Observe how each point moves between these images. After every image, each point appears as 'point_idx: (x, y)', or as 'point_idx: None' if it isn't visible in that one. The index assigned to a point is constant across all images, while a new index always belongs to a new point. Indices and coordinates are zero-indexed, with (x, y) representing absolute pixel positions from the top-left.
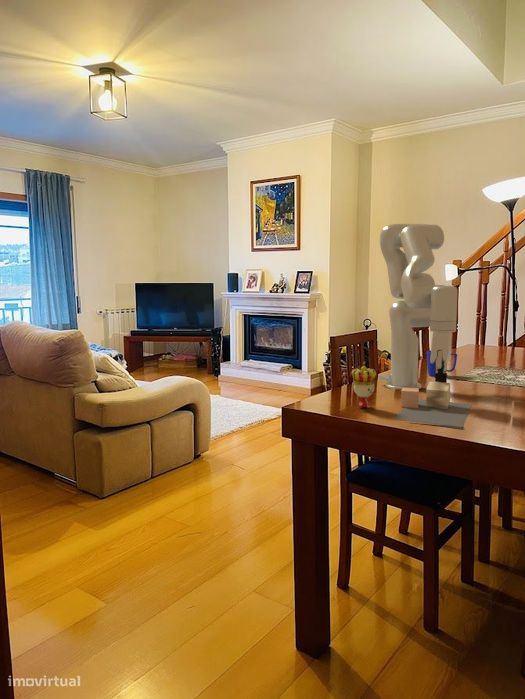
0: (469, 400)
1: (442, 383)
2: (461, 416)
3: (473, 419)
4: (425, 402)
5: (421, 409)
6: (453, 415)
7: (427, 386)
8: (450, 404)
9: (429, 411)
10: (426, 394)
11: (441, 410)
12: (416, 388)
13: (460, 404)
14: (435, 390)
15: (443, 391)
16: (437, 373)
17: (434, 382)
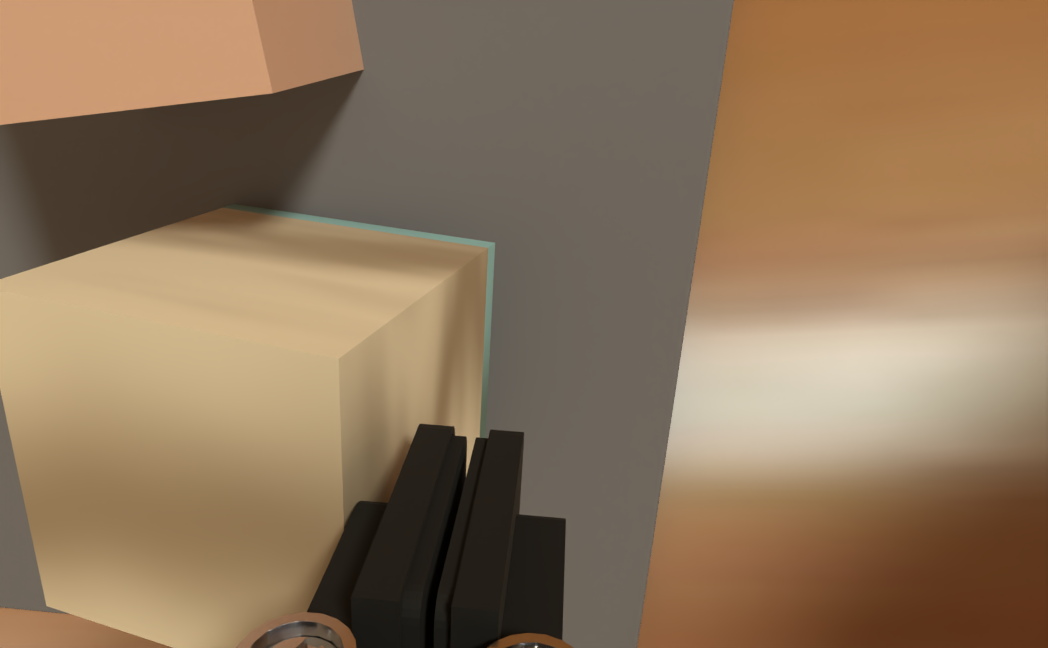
0: (932, 640)
1: (291, 583)
2: (13, 571)
3: (69, 643)
4: (526, 163)
5: (72, 152)
6: (7, 505)
7: (93, 308)
8: (527, 470)
9: (28, 259)
10: (72, 258)
11: None
12: (247, 47)
13: (567, 568)
14: (17, 437)
15: (46, 547)
16: (356, 634)
17: (300, 451)
